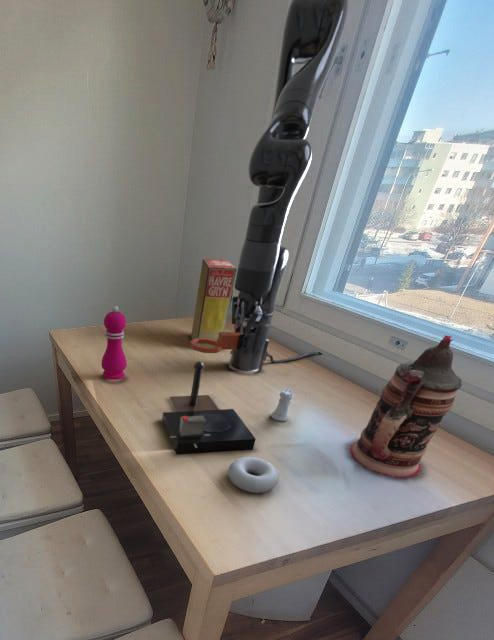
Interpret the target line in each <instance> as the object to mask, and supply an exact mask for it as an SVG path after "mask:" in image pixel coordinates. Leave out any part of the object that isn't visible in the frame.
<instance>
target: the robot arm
mask: <svg viewBox="0 0 494 640" xmlns="http://www.w3.org/2000/svg"><path fill="white" fill-rule="evenodd" d="M348 12H349V0H291V1H290V3H289V6H288V9H287V13H286V16H285V21H284V25H283V32H282V38H281V45H280V55H279V60H278V62H279V63H278V69H277V76H276V83H275V84H276V86H275V92H274V98H273V99H274V100H273V106H272V113H271V118H270V123H269V125H268V126H267V128H266V129H265V130H264V132H263V133H262V135H260V138H259V139H258V141H257V143H256V144H255V146H254V149H253V150H252V153H251V154H250V155H251V156H250V159H249V163H248V178H249V181H250V182H251V184H252V185H254V186H255V187H258V193H257V200H256V204H254V205H253V206H252V207H251V209H250V212H249V216H248V221H247V225H246V226H247V227H246V232H245V237H244V241H243V245H242V247H241V251H240V256H239V259H238V260H239V261H238V266H237V270H236V275H235V280H234V289H235V290H236V291H238V295H237V296H232V297H231V298H232V299H231V325H233V329H234V332H240V335H239V340H238V344H237V350H233V349H231V350H230V359H229V363H228V368H229V369H230V370H232V371H233V372H252V373H253V374H256V373H258V372H262V371H263V366H264V362H266V360H267V357H268V358H269V361H270V362H271V363H273V364H280V363H281V364H282V363H288V362H292V361H297V360H300V359H302V358H305V357H309V356H312V355H314V354H316V353H317V354H319V355H323V354H322V353H320V352H316V353H315V350H313V351H310V352H307V353H304V354H301V355H298V356H295V357H290V358H285V359H280V360H277V359H274V356H273V355H272V354H270V353H269V352H268V346H269V343H270V339H269V338H268V335H269V332H270V327H271V324H272V320H273V316H274V313H275V310H276V309H275V308H276V305H277V300H278V298H279V297H278V296H279V293H280V289H281V286H282V283H283V280H284V276H285V274H286V271H287V267H288V263H289V259H290V251H289V249H288V247H285V246H281V241H282V237H283V234H284V229H285V226H286V222H287V217H288V215H289V212H290V209H291V207H292V204H293V201H294V199H295V197H296V195H297V193H298V191H299V189H300V187H301V185H302V183H303V182H304V179H305V178H306V175H307V173H308V171H309V168H310V165H311V163H312V158H313V150H312V149H313V148H312V145H311V142H310V141H309V140H308V139H307V135H308V133H309V130H310V127H311V124H312V119H313V116H314V111H315V108H316V105H317V104H316V103H317V101H318V98H319V95H320V93H321V91H322V88H323V86H324V84H325V81H326V79H327V77H328V75H329V73H330V70H331V68H332V65H333V63H334V60H335V59H336V55H337V54H338V51H339V48H340V45H341V41H342V38H343V34H344V32H345V31H344V30H345V27H346V22H347V17H348ZM296 65H303V66H302V67H301V68H300V69H299V70H298V71H297V72H295V67H296Z"/></svg>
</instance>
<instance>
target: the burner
mask: <svg viewBox="0 0 494 640" xmlns="http://www.w3.org/2000/svg"><path fill="white" fill-rule="evenodd" d="M194 416H203V417H204V418H205V425H204V431H205V432H212V433H217V432H223V431H225V430H227V429H228V428H229V426H230V424H229V421H228V420H227V419H226V418H224V417H222V416H220V415H217V414H212V413H200V414H197V415H194Z"/></svg>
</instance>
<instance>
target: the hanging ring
mask: <svg viewBox="0 0 494 640" xmlns="http://www.w3.org/2000/svg"><path fill="white" fill-rule="evenodd" d="M239 335H240V332H235V331H232V332H229V331H227V332H226V331H224V332H219V336H218V341H216V340H212V339H207V338H195V339H193V340H192V339H191V340H190V341H189V347H190V348H191V349H192V350H193V351H196V352H199V353H202V354H218V353H219V352H221V351H222V350H232V349H233V350H237V344H238V340H239ZM197 344H209V345H213V346H215V347H203V346H199V345H197Z"/></svg>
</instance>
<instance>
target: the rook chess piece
mask: <svg viewBox="0 0 494 640" xmlns="http://www.w3.org/2000/svg"><path fill="white" fill-rule="evenodd" d="M279 397H280V398H279V399H278V404H277V406H276V408H275V409H273V411H272V413H271V414H270V416H271V418H272V419H273V420H274V421H277V422H286V421H288V420H289V419H290V415H289V407H290V404H291V403H292V401H291V400H292V399H293V398H294V397H295V396H294V391H292V390H291V389H290V390H289V389H282V391H281V392H280V393H279Z"/></svg>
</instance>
